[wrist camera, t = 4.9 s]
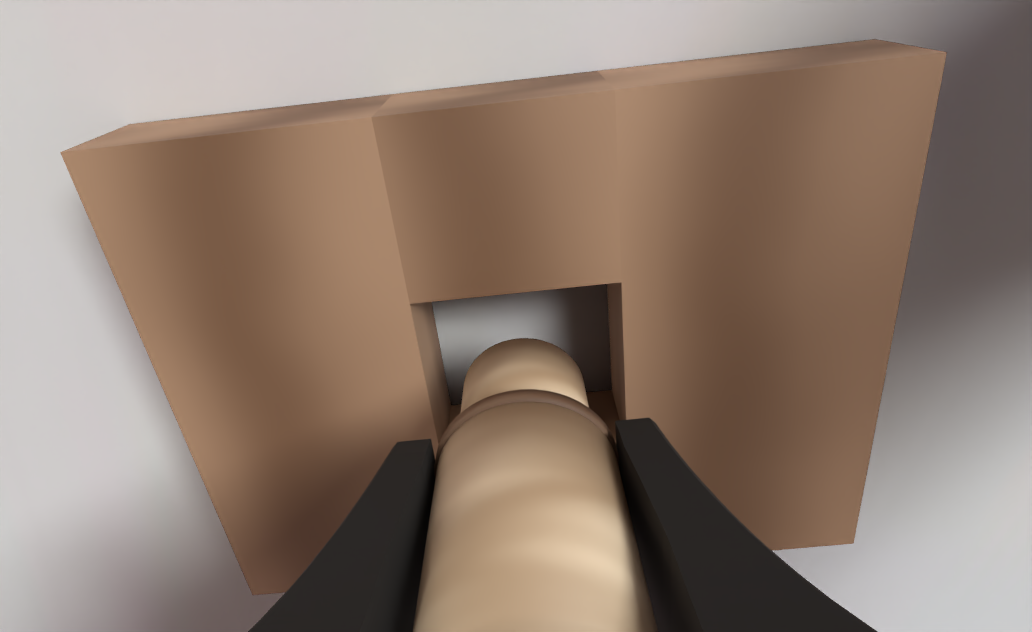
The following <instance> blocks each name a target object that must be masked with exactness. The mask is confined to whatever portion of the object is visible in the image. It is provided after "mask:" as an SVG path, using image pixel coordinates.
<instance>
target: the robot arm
mask: <svg viewBox="0 0 1032 632" xmlns="http://www.w3.org/2000/svg"><path fill="white" fill-rule="evenodd" d="M615 430H616V447H617V451H618V455H619V469H620V475H621V479H622V483H623V487H624V492H625V496H626V500H627V504H628V508H629V512H630V517H631V521H632V525H633V529H634V533H635V538H636V542H637V546H638V550H639V554H640V558H641V563H642V567H643V571H644V575H645V579H646V584H647V588H648V592H649V596H650V600H651V604H652V609H653V613H654V617H655V621H656V625H657V630H658V632H877V631H876V630H874V629H873V628H871V627H870V626H869V625H867V624H866V623H864V622H863V621H861V620H860V619H859V618H857V617H856V616H854V615H853V614H852V613H850V612H849V611H847V610H846V609H844V608H843V607H842V606H840V605H839V604H837V603H836V602H834V601H833V600H832V599H830V598H829V597H828V596H826V595H825V594H824V593H823V592H821V591H820V590H819V589H817V588H816V587H815V586H814V585H812V584H811V583H810V582H808V581H807V580H806V579H805V578H803V577H802V576H801V575H800V574H798V573H797V572H796V571H795V570H794V569H792V568H791V567H790V566H789V565H788V564H787V563H785V562H784V561H783V560H782V559H781V558H779V557H778V556H777V555H776V554H775V553H774V552H773V551H771V550H770V549H769V548H768V547H767V546H766V545H765V544H764V543H763V542H761V541H760V540H759V539H758V538H757V537H756V536H755V535H754V534H753V533H752V532H751V531H750V530H749V529H748V528H747V527H746V526H745V525H744V524H743V523H741V522H740V521H739V520H738V519H737V518H736V517H735V516H734V515H733V514H732V513H731V512H730V511H729V510H728V509H727V508H726V506H725V505H724V504H723V503H722V502H721V501H720V500H719V499H718V498H717V497H716V496H715V495H714V494H713V493H712V491H711V490H710V489H709V488H708V487H707V486H706V485H705V484H704V483H703V482H702V481H701V479H700V478H699V477H698V476H697V475H696V474H695V473H694V471H693V470H692V469H691V468H690V467H689V466H688V464H687V463H686V462H685V461H684V460H683V458H682V457H681V456H680V455H679V453H678V452H677V451H676V450H675V448H674V447H673V446H672V445H671V443H670V442H669V441H668V439H667V438H666V437H665V435H664V434H663V433H662V431H661V430H660V428H659V427H658V425H657V424H656V423H655V422H654V421H653V420H652V419H650V418H640V419H629V420H619V421H615ZM434 466H435V456H434V451H433V446H432V442H431V439H422V440H411V441H401V442H397V443H396V444H395V446H394V447H393V448H392V449H391V451H390V453H389V454H388V456H387V457H386V459H385V460H384V462H383V463H382V465H381V467H380V468H379V470H378V471H377V473H376V474H375V476H374V477H373V479H372V480H371V482H370V483H369V485H368V486H367V488H366V489H365V491H364V492H363V494H362V495H361V497H360V498H359V500H358V501H357V502H356V504H355V505H354V507H353V508H352V509H351V511H350V512H349V514H348V515H347V516H346V518H345V519H344V521H343V522H342V523H341V525H340V526H339V528H338V529H337V530H336V532H335V533H334V534H333V536H332V537H331V538H330V539H329V541H328V542H327V543H326V544H325V546H324V547H323V548H322V549H321V551H320V552H319V553H318V554H317V556H316V557H315V558H314V559H313V561H312V562H311V563H310V564H309V566H308V567H307V568H306V569H305V571H304V572H303V573H302V574H301V575H300V577H299V578H298V579H297V580H296V581H295V582H294V584H293V585H292V586H291V587H290V588H289V589H288V590H287V592H286V593H285V594H284V595H283V596H282V597H281V598H280V599H279V600H278V601H277V602H276V604H275V605H274V606H273V607H272V608H271V609H270V610H269V611H268V612H267V613H266V614H265V615H264V616H263V617H262V618H261V620H260V621H259V622H258V623H257V624H256V625H255V626H254V627H253V628H252V629H251V630H249V631H248V632H413V626H414V619H415V613H416V606H417V599H418V593H419V586H420V579H421V572H422V566H423V559H424V552H425V546H426V539H427V532H428V525H429V519H430V512H431V505H432V499H433V492H434V485H435V475H434Z"/></svg>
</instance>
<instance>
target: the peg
mask: <svg viewBox="0 0 1032 632" xmlns="http://www.w3.org/2000/svg"><path fill="white" fill-rule="evenodd" d="M434 475H435V485H434V492H433V499H432V505H431V512H430V519H429V525H428V532H427V539H426V546H425V552H424V559H423V566H422V572H421V579H420V586H419V593H418V599H417V606H416V613H415V619H414V626H413V632H658V630H657V625H656V621H655V617H654V613H653V609H652V604H651V600H650V596H649V592H648V588H647V584H646V579H645V575H644V571H643V567H642V563H641V558H640V554H639V550H638V546H637V542H636V538H635V533H634V529H633V525H632V521H631V517H630V512H629V508H628V504H627V500H626V496H625V492H624V487H623V483H622V479H621V475H620V469H619V455H618V451H617V447H616V443H615V440H614V438H613V435H612V433H611V431H610V430H609V428H608V427H607V425H606V424H605V422H604V421H603V420H602V419H601V418H600V417H599V416H598V415H597V414H596V413H595V412H594V411H592V410H591V409H590V408H589V406H588V401H587V396H586V391H585V386H584V381H583V377H582V374H581V371H580V369H579V367H578V366H577V364H576V362H575V361H574V360H573V359H572V358H571V357H570V356H569V355H568V354H567V353H566V352H565V351H563V350H562V349H560V348H559V347H557V346H555V345H553V344H551V343H548V342H545V341H542V340H537V339H529V338H519V339H512V340H507V341H504V342H501V343H498V344H496V345H494V346H492V347H490V348H488V349H487V350H485V351H484V352H483V353H481V354H480V355H479V356H478V357H477V358H476V359H475V361H474V362H473V363H472V365H471V366H470V368H469V370H468V372H467V374H466V377H465V381H464V387H463V396H462V405H461V413H460V414H459V415H458V416H457V417H456V418H455V419H454V420H453V421H452V422H451V424H450V425H449V426H448V427H447V429H446V431H445V432H444V434H443V435H442V438H441V440H440V443H439V445H438V449H437V453H436V459H435V466H434Z"/></svg>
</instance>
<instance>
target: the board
mask: <svg viewBox="0 0 1032 632" xmlns="http://www.w3.org/2000/svg"><path fill="white" fill-rule="evenodd" d="M946 54H947V52H943V51H937V50H932V49H926V48H921V47H915V46H910V45H904V44H899V43H893V42H888V41H882V40H877V39H872V40H864V41H855V42H846V43H837V44H828V45H820V46H811V47H802V48H793V49H785V50H776V51H767V52H758V53H750V54H741V55H732V56H723V57H715V58H706V59H697V60H688V61H680V62H671V63H662V64H653V65H645V66H636V67H627V68H618V69H610V70H601V71H592V72H583V73H574V74H566V75H557V76H548V77H539V78H531V79H522V80H513V81H504V82H496V83H487V84H478V85H469V86H461V87H452V88H443V89H434V90H426V91H417V92H408V93H399V94H391V95H382V96H373V97H364V98H356V99H347V100H338V101H329V102H320V103H312V104H303V105H294V106H285V107H277V108H268V109H259V110H250V111H242V112H233V113H224V114H215V115H207V116H198V117H189V118H180V119H172V120H163V121H154V122H145V123H137V124H129V125H127V126H124V127H122V128H119V129H117V130H114V131H112V132H109V133H107V134H105V135H102V136H100V137H97V138H95V139H92V140H90V141H87V142H85V143H82V144H80V145H77V146H75V147H72V148H70V149H68V150H65V151H63V152H60V153H61V155H62V157H63V160H64V162H65V164H66V166H67V169H68V171H69V173H70V176H71V178H72V180H73V183H74V185H75V187H76V189H77V192H78V194H79V196H80V199H81V201H82V203H83V206H84V208H85V210H86V213H87V215H88V217H89V219H90V222H91V224H92V226H93V229H94V231H95V233H96V236H97V238H98V240H99V242H100V245H101V247H102V249H103V252H104V254H105V256H106V259H107V261H108V263H109V265H110V268H111V270H112V272H113V275H114V277H115V279H116V282H117V284H118V286H119V289H120V291H121V293H122V295H123V298H124V300H125V302H126V305H127V307H128V309H129V312H130V314H131V316H132V318H133V321H134V323H135V325H136V328H137V330H138V332H139V335H140V337H141V339H142V341H143V344H144V346H145V348H146V351H147V353H148V355H149V358H150V360H151V362H152V365H153V367H154V369H155V371H156V374H157V376H158V378H159V381H160V383H161V385H162V388H163V390H164V392H165V394H166V397H167V399H168V401H169V404H170V406H171V408H172V411H173V413H174V415H175V417H176V420H177V422H178V424H179V427H180V429H181V431H182V434H183V436H184V438H185V440H186V443H187V445H188V447H189V450H190V452H191V454H192V457H193V459H194V461H195V464H196V466H197V468H198V470H199V473H200V475H201V477H202V480H203V482H204V484H205V487H206V489H207V491H208V493H209V496H210V498H211V500H212V503H213V505H214V507H215V510H216V512H217V514H218V516H219V519H220V521H221V523H222V526H223V528H224V530H225V533H226V535H227V537H228V540H229V542H230V544H231V546H232V549H233V551H234V553H235V556H236V558H237V560H238V563H239V565H240V567H241V569H242V572H243V574H244V576H245V579H246V581H247V583H248V586H249V588H250V590H251V592H252V595H259V594H271V593H282V592H287V590H288V589H289V588H290V587H291V586H292V585H293V584H294V582H295V581H296V580H297V579H298V578H299V577H300V575H301V574H302V573H303V572H304V571H305V569H306V568H307V567H308V566H309V564H310V563H311V562H312V561H313V559H314V558H315V557H316V556H317V554H318V553H319V552H320V551H321V549H322V548H323V547H324V546H325V544H326V543H327V542H328V541H329V539H330V538H331V537H332V536H333V534H334V533H335V532H336V530H337V529H338V528H339V526H340V525H341V523H342V522H343V521H344V519H345V518H346V516H347V515H348V514H349V512H350V511H351V509H352V508H353V507H354V505H355V504H356V502H357V501H358V500H359V498H360V497H361V495H362V494H363V492H364V491H365V489H366V488H367V486H368V485H369V483H370V482H371V480H372V479H373V477H374V476H375V474H376V473H377V471H378V470H379V468H380V467H381V465H382V463H383V462H384V460H385V459H386V457H387V456H388V454H389V453H390V451H391V449H392V448H393V447H394V446H395V444H396V443H397V442H401V441H411V440H422V439H431V442H432V446H433V451H434V456H435V459H436V453H437V449H438V445H439V443H440V440H441V438H442V435H443V434H444V432H445V431H446V429H447V427H448V426H449V425H450V424H451V422H452V421H453V420H454V419H455V418H456V417H457V416H458V415H459V414H460V413H461V405H462V404H461V405H451V403H450V398H449V393H448V387H447V382H446V377H445V371H444V366H443V361H442V355H441V350H440V344H439V339H438V334H437V328H436V323H435V318H434V312H433V307H432V302H433V301H443V300H453V299H463V298H472V297H482V296H492V295H502V294H512V293H521V292H531V291H541V290H551V289H561V288H571V287H580V286H590V285H600V284H607V293H608V316H609V338H610V360H611V382H612V390H607V391H596V392H586V396H587V401H588V406H589V408H590V409H591V410H592V411H594V412H595V413H596V414H597V415H598V416H599V417H600V418H601V419H602V420H603V421H604V422H605V424H606V425H607V427H608V428H609V430H610V431H611V433H612V435H613V438H614V440H615V443H616V430H615V421H619V420H629V419H640V418H650V419H652V420H653V421H654V422H655V423H656V424H657V425H658V427H659V428H660V430H661V431H662V433H663V434H664V435H665V437H666V438H667V439H668V441H669V442H670V443H671V445H672V446H673V447H674V448H675V450H676V451H677V452H678V453H679V455H680V456H681V457H682V458H683V460H684V461H685V462H686V463H687V464H688V466H689V467H690V468H691V469H692V470H693V471H694V473H695V474H696V475H697V476H698V477H699V478H700V479H701V481H702V482H703V483H704V484H705V485H706V486H707V487H708V488H709V489H710V490H711V491H712V493H713V494H714V495H715V496H716V497H717V498H718V499H719V500H720V501H721V502H722V503H723V504H724V505H725V506H726V508H727V509H728V510H729V511H730V512H731V513H732V514H733V515H734V516H735V517H736V518H737V519H738V520H739V521H740V522H741V523H743V524H744V525H745V526H746V527H747V528H748V529H749V530H750V531H751V532H752V533H753V534H754V535H755V536H756V537H757V538H758V539H759V540H760V541H761V542H763V543H764V544H765V545H766V546H767V547H768V548H769V549H770V550H782V549H794V548H806V547H817V546H829V545H841V544H852V543H854V538H855V533H856V527H857V522H858V517H859V511H860V506H861V501H862V496H863V490H864V485H865V480H866V475H867V469H868V464H869V459H870V454H871V448H872V443H873V438H874V433H875V427H876V422H877V417H878V412H879V406H880V401H881V396H882V391H883V385H884V380H885V375H886V370H887V364H888V359H889V354H890V349H891V343H892V338H893V333H894V328H895V322H896V317H897V312H898V306H899V301H900V296H901V291H902V285H903V280H904V275H905V270H906V264H907V259H908V254H909V249H910V243H911V238H912V233H913V228H914V222H915V217H916V212H917V207H918V201H919V196H920V191H921V186H922V180H923V175H924V170H925V165H926V159H927V154H928V149H929V144H930V138H931V133H932V128H933V122H934V117H935V112H936V107H937V101H938V96H939V91H940V86H941V80H942V75H943V70H944V65H945V59H946Z"/></svg>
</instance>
